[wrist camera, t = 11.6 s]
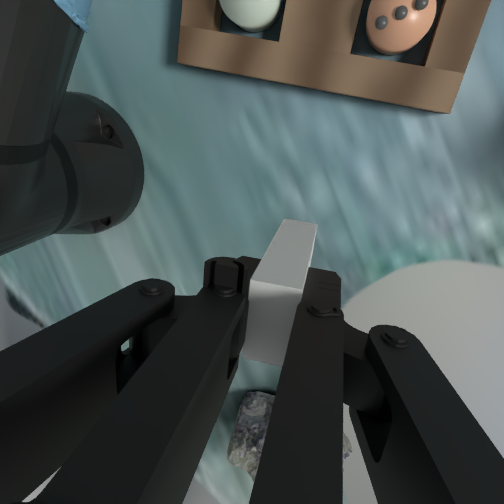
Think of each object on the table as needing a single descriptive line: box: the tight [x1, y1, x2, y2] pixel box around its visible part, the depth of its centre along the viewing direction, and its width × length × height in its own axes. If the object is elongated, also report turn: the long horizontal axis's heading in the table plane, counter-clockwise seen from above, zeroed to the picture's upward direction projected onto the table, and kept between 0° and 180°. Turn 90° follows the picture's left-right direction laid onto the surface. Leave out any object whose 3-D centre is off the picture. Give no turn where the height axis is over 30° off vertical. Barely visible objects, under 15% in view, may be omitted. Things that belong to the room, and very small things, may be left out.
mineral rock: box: [227, 391, 352, 481], centre depth 43 cm, size 13×11×10 cm
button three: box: [366, 0, 436, 55], centre depth 29 cm, size 5×5×3 cm
